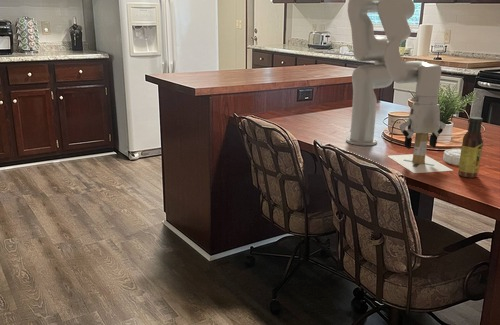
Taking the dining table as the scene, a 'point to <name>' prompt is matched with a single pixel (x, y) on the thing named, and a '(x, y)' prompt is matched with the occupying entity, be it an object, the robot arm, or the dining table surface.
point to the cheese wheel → (452, 156)
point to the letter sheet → (428, 166)
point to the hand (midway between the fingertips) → (420, 147)
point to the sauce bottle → (471, 149)
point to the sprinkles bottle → (420, 148)
